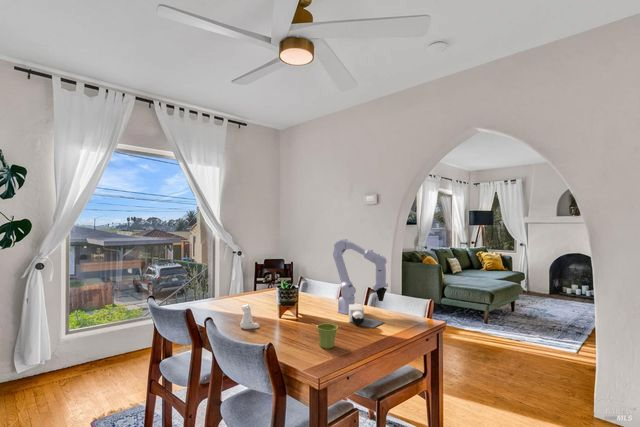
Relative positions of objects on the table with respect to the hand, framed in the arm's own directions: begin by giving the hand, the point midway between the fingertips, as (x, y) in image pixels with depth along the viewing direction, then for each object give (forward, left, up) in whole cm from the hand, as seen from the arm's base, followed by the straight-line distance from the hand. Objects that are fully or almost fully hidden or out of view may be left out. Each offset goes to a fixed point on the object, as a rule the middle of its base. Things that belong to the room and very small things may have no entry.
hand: (380, 300), depth 201 cm
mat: (0, -16, -9) cm, 18 cm away
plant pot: (+4, -57, -9) cm, 58 cm away
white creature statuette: (-44, -61, -9) cm, 76 cm away
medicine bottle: (-8, -15, -4) cm, 17 cm away
